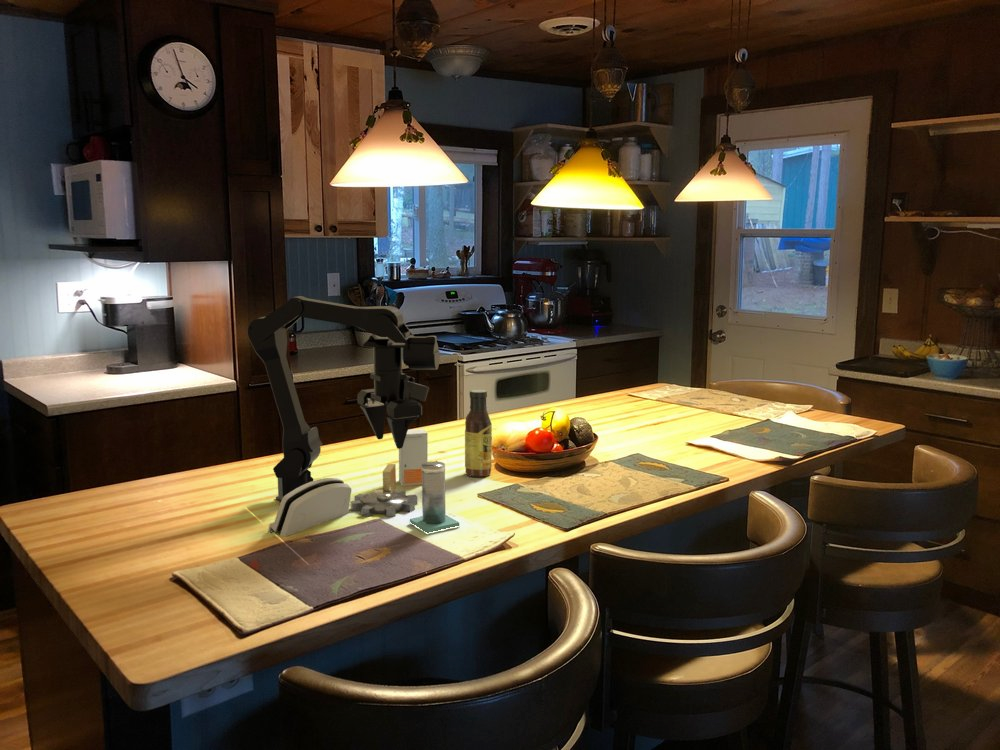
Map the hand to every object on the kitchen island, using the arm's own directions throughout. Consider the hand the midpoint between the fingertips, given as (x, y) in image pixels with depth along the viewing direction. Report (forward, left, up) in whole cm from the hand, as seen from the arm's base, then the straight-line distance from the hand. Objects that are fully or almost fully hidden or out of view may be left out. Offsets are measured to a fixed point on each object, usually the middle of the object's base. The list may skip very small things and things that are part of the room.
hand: (389, 443), depth 174 cm
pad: (+1, -17, -13) cm, 21 cm away
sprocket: (-1, 0, -13) cm, 13 cm away
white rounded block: (-18, -3, -13) cm, 23 cm away
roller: (+1, -17, -12) cm, 21 cm away
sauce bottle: (+27, +9, -13) cm, 31 cm away
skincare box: (+11, +11, -13) cm, 20 cm away
